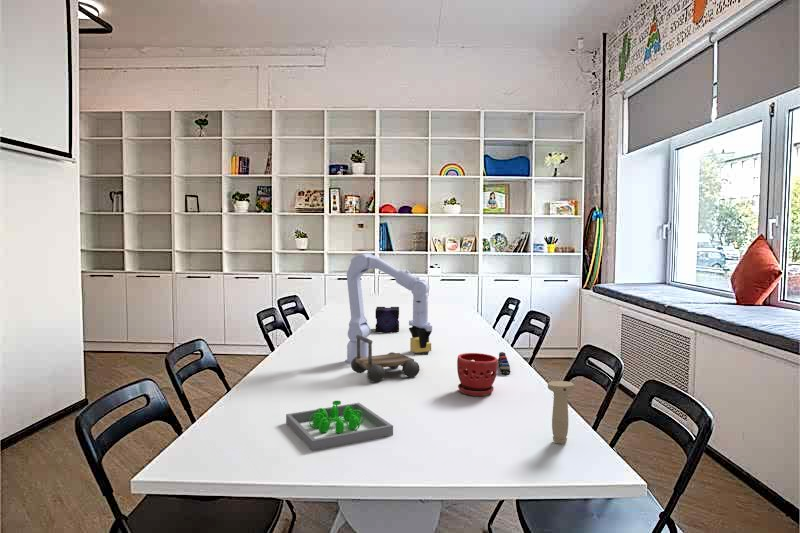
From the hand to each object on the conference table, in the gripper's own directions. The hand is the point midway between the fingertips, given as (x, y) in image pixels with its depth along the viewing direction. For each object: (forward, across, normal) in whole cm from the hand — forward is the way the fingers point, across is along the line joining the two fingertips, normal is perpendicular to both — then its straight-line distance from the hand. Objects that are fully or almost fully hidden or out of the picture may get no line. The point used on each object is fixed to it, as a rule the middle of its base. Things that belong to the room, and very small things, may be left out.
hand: (420, 346), depth 216 cm
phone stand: (+8, +23, -14) cm, 28 cm away
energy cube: (+9, +76, -24) cm, 80 cm away
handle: (+8, -82, +6) cm, 83 cm away
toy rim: (+8, -47, +53) cm, 71 cm away
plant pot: (+8, -37, 0) cm, 38 cm away
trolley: (+8, -3, +17) cm, 19 cm away
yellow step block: (+2, 0, 0) cm, 2 cm away
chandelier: (+9, -45, +52) cm, 69 cm away
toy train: (+9, -16, -28) cm, 34 cm away
